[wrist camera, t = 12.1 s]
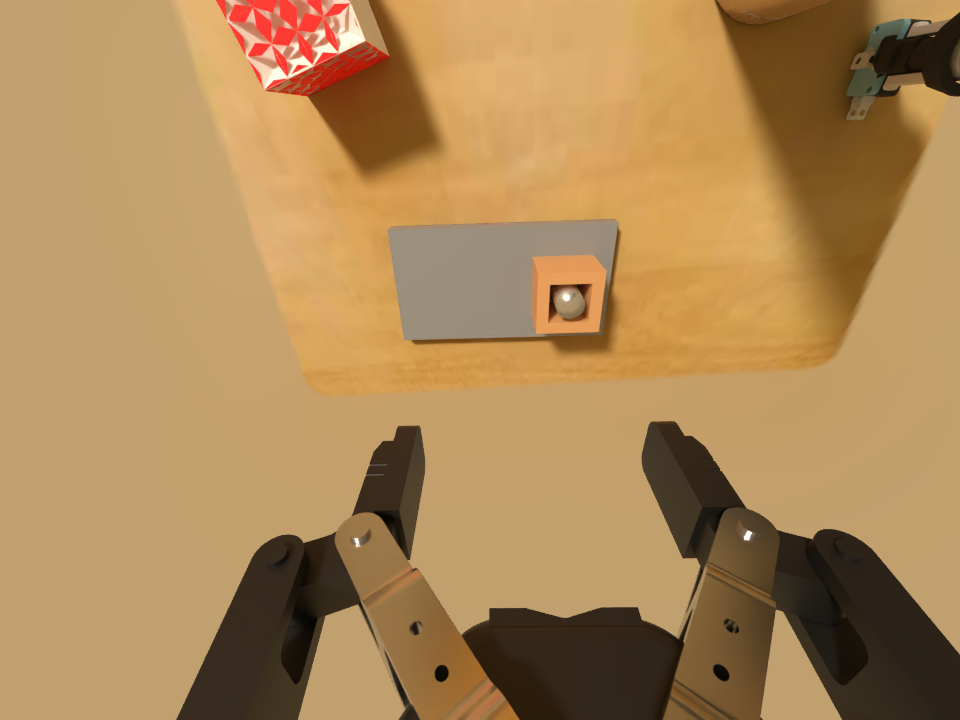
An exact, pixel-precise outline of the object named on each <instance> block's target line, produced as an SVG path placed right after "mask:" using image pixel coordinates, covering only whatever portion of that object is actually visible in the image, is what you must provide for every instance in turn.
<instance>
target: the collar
mask: <svg viewBox="0 0 960 720" xmlns="http://www.w3.org/2000/svg"><path fill="white" fill-rule="evenodd" d="M606 272H607V271H606V270H605V269H604V267H603V266H602V265H601V264H600V262H599V261H598V260H597V259H596V257H595V256H594V255H571V256H543V257H532V290H531V315H532V319H533V324H534V328H535V332H536V334H549V333H583V332H599V327H600V319H601V311H602V303H603V296H604V288H605V280H606ZM565 284H579V291H580V293H581V294H582V296H583V298H584V300H585V308H584V311H583V312H582V313H581V314H580V315H579V316H578V317H576V318H573V319H566V318H563V317H561V316H560V315H559V314H558V312H557V310H556V307H555V304H554V302H549V295H550V285H565Z"/></svg>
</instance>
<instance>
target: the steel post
mask: <svg viewBox="0 0 960 720" xmlns="http://www.w3.org/2000/svg"><path fill="white" fill-rule="evenodd" d="M550 294H551V296H552V299H553V302H554V304H555V307H556V310H557V312H558V314H559V315H560V316H561V317H563V318H566V319H573V318H576V317H578V316H579V315H580V314H581V313H582V312H583V311H584V308H585V300H584V298H583V296H582V294H581V293H580V291H579V289H578V287H577V285H576V284H565V285H550Z"/></svg>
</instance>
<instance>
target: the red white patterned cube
mask: <svg viewBox="0 0 960 720" xmlns="http://www.w3.org/2000/svg"><path fill="white" fill-rule="evenodd" d="M216 1H217V3H218V5H219V7H220V8H221V10H222V12H223V14H224V16H225V18H226V20H227V22H228V23H229V25H230V27H231V29H232V31H233V33H234V35H235V37H236V38H237V40H238V42H239V44H240V46H241V48H242V50H243V52H244V53H245V55H246V57H247V59H248V61H249V63H250V65H251V67H252V68H253V70H254V72H255V74H256V76H257V78H258V80H259V82H260V83H261V85H262V87H263V89H264V91H270V92H278V93H285V94H293V95H301V96H310V94H311V95H312V94H314V93H316V92H318V91H320V89H321V90H322V89H324V88H325V87H328V86H330V85H332V84H334V83H336V82H338V81H340V80H343V79H345V78H347V77H349V76H351V75H353V74H355V73H357V72H359V71H361V70H363V69H366V68H368V67H370V66H372V65H374V64H376V63H378V62H380V61H382V60H384V59H387V58H389V57H390V55H389V53H388V51H387V48H386V45H385V43H384V40H383V38H382V35H381V32H380V30H379V27H378V25H377V22H376V19H375V17H374V14H373V12H372V9H371V6H370V4H369V1H368V0H216Z"/></svg>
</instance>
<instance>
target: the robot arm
mask: <svg viewBox="0 0 960 720" xmlns="http://www.w3.org/2000/svg"><path fill="white" fill-rule="evenodd" d="M717 1H718V3H719V4H720V6H721V7H722V9H723V10H724V12H726V13H727V14H728V15H729V16H730V17H732V18H733V19H734V20H737V21H739V22H742V23H744V24H755V25H757V24H763V23H769V22H772V21H775V20H778V19H783V18H786V17H789V16H792V15H794V14H796V13H799V12H801V11H805V10H808V9H811V8H813V7H816V6H819V5H822V4H825V3H828V2H831V1H834V0H717ZM642 466H643V470H644V473H645V475H646V477H647V480H648V482H649V484H650V486H651V489H652V491H653V493H654V495H655V497H656V499H657V502H658V504H659V506H660V509H661V510H662V513H663V515H664V517H665V520H666V522H667V524H668V526H669V529H670V531H671V533H672V535H673V537H674V540H675V542H676V544H677V546H678V549H679V551H680V553H681V555H682V557H683V558H697V560H698V562H699V564H700V568H699V571H698V574H697V577H696V580H695V583H694V586H693V589H692V592H691V595H690V598H689V602H688V605H687V608H686V611H685V614H684V617H683V621H682V623H681V626H680V629H679V631H678V634H677V637H675V636H673V635H672V634H670V633H669V632H667V631H666V630H664V629H662V628H660V627H658V626H657V625H654V624H652V623H649V622H647V621H643V620H641V616H640V613H639V610H638V608H637V607H615V608H614V607H613V608H598V609H595V610H592V611H588V612H585V613H582V614H578V615H575V616H572V617H569V618H561V617H557V616H553V615H549V614H545V613H542V612H538V611H534V610H530V609H527V608H490V610H489V612H490V613H489V614H490V616H489V620H488V621H484V622H481V623H480V624H477V625H475V626H473V627H471V628H470V629H468V630H467V631H465V632H464V633H463V634H462V635H461V634H460V633H459V631H458V630H457V628H456V626H455V625H454V623H453V622H452V620H451V619H450V617H449V615H448V614H447V612H446V611H445V609H444V608H443V606H442V605H441V603H440V601H439V600H438V599H437V597H436V596H435V594H434V592H433V591H432V589H431V587H430V586H429V584H428V583H427V581H426V580H425V578H424V576H423V575H422V574H421V572H420V571H419V570H418V569H417V568H415V569H413V568H412V566H411V565H410V563H409V562H408V560H410V556H411V550H412V544H413V538H414V532H415V527H416V521H417V516H418V510H419V503H420V498H421V492H422V486H423V480H424V474H425V456H424V448H423V442H422V435H421V429H420V426H398V428H397V431H396V434H395V438H394V441H383V442H382V443H381V444H380V445H379V447H378V448H377V449H376V450H375V451H374V452H373V456H372V458H371V461H370V466H369V468H368V470H367V473H366V477H365V479H364V482H363V486H362V488H361V491H360V494H359V497H358V500H357V503H356V506H355V509H354V512H353V514H352V516H351V517H350V518H348V519H347V520H345V521H344V522H343V523H342V525H341V526H340V527H339V528H338V530H337V531H336V532H335V533H333V534H331V535H329V536H326V537H323V538H320V539H316V540H313V541H310V542H306V543H303V541H302V540H301V539H300V538H299V537H297V536H295V535H281V536H278V537H276V538H273V539H271V540H269V541H268V542H266V543H265V544H264V545H262V546H261V547H260V548H259V549H258V550H257V551H256V553H255V554H254V556H253V557H252V559H251V562H250V564H249V566H248V568H247V570H246V572H245V574H244V576H243V578H242V581H241V583H240V585H239V587H238V589H237V591H236V593H235V596H234V598H233V600H232V602H231V604H230V606H229V608H228V610H227V613H226V615H225V617H224V619H223V621H222V623H221V626H220V628H219V630H218V632H217V634H216V636H215V638H214V640H213V643H212V645H211V647H210V649H209V651H208V653H207V655H206V657H205V660H204V662H203V664H202V666H201V668H200V670H199V673H198V675H197V677H196V679H195V681H194V684H193V685H192V688H191V689H190V692H189V694H188V696H187V698H186V700H185V703H184V704H183V707H182V709H181V711H180V713H179V715H178V717H177V719H176V720H298V717H299V713H300V710H301V706H302V702H303V698H304V694H305V691H306V687H307V683H308V679H309V676H310V672H311V668H312V664H313V661H314V657H315V653H316V649H317V645H318V642H319V638H320V634H321V630H322V627H323V623H324V619H325V616H326V615H329V614H332V613H334V612H337V611H340V610H343V609H346V608H349V607H351V606H354V605H358V607H359V609H360V611H361V613H362V616H363V618H364V620H365V622H366V624H367V626H368V629H369V631H370V633H371V635H372V637H373V639H374V642H375V644H376V646H377V648H378V650H379V652H380V655H381V657H382V659H383V662H384V664H385V666H386V669H387V671H388V673H389V676H390V678H391V681H392V683H393V685H394V687H395V689H396V692H397V693H398V696H399V698H400V700H401V702H402V705H403V707H404V709H405V711H404V713H403V714H402V715H401V717H400V718H399V720H763V719H762V718H761V717H760V715H761V708H762V701H763V694H764V687H765V681H766V673H767V667H768V659H769V653H770V646H771V639H772V632H773V625H774V618H775V611H776V610H780V611H783V612H784V614H785V616H786V618H787V619H788V621H789V623H790V625H791V627H792V629H793V630H794V632H795V634H796V636H797V638H798V639H799V641H800V643H801V645H802V647H803V649H804V651H805V652H806V654H807V656H808V658H809V660H810V661H811V663H812V665H813V667H814V669H815V671H816V673H817V674H818V676H819V678H820V680H821V682H822V683H823V685H824V687H825V689H826V691H827V693H828V695H829V696H830V698H831V700H832V702H833V704H834V706H835V707H836V709H837V711H838V713H839V715H840V717H841V718H842V720H960V655H959V653H958V652H957V651H956V650H955V648H954V647H953V646H952V645H951V644H950V642H949V641H948V640H947V639H946V637H945V636H944V635H943V634H942V633H941V631H940V630H939V629H938V628H937V627H936V626H935V624H934V623H933V622H932V621H931V619H930V618H929V617H928V616H927V615H926V614H925V612H924V611H923V610H922V609H921V607H920V606H919V605H918V604H917V603H916V601H915V600H914V599H913V598H912V597H911V596H910V594H909V593H908V592H907V591H906V589H905V588H904V587H903V586H902V585H901V583H900V582H899V581H898V580H897V579H896V577H895V576H894V575H893V574H892V572H891V571H890V570H889V569H888V568H887V566H886V565H885V564H884V563H883V562H882V561H881V559H880V558H879V557H878V556H877V554H876V553H875V552H874V551H873V550H872V549H871V548H870V547H868V545H866V544H865V543H864V542H862V541H861V540H859V539H857V538H856V537H854V536H852V535H850V534H847V533H845V532H842V531H838V530H833V529H824V530H820V531H818V532H817V533H816V534H815V536H814V538H813V539H809V538H805V537H801V536H797V535H793V534H789V533H785V532H782V531H778V530H776V528H775V527H774V526H773V524H772V523H771V522H770V521H769V520H767V519H766V518H764V517H763V516H762V515H760V514H758V513H756V512H754V511H752V510H749V509H747V508H746V507H745V505H744V504H743V502H742V501H741V500H740V498H739V496H738V495H737V493H736V492H735V490H734V489H733V487H732V486H731V485H730V483H729V481H728V480H727V478H726V477H725V475H724V474H723V473H722V471H720V468H719V467H718V465H717V464H716V462H715V461H713V458H712V456H711V455H710V453H709V452H708V450H707V449H706V447H705V446H704V445H702V444H701V443H700V442H699V441H697V440H696V439H695V438H694V437H692V436H684V434H683V433H682V431H681V430H680V428H679V426H678V425H677V423H676V422H674V421H662V422H651V423H650V424H649V427H648V431H647V435H646V439H645V443H644V448H643V452H642Z"/></svg>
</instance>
